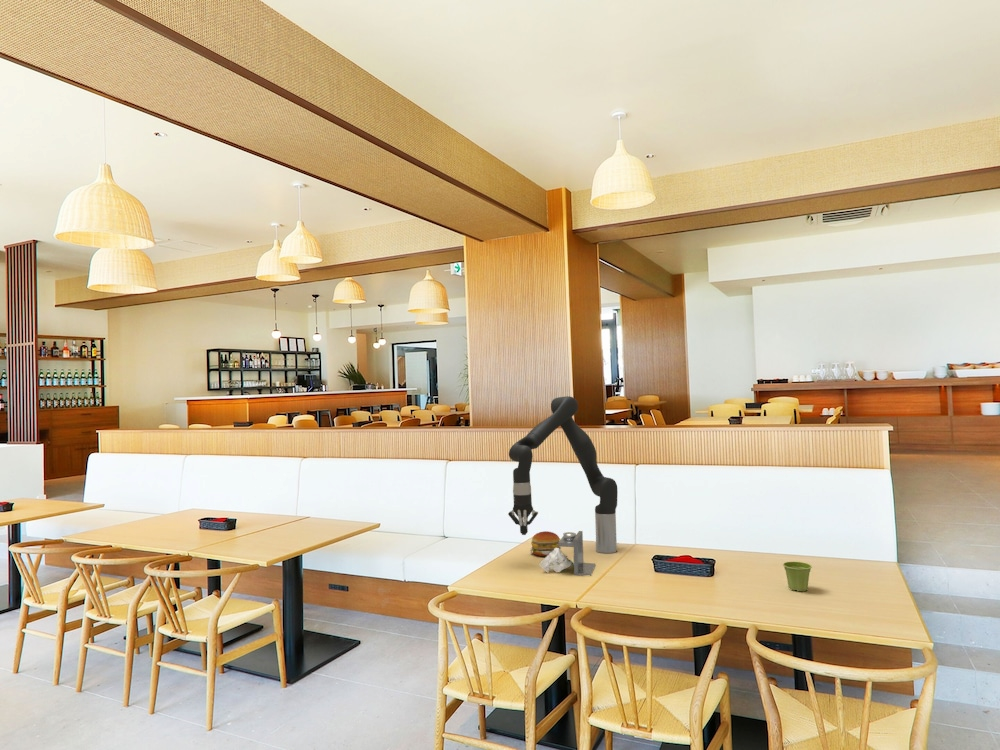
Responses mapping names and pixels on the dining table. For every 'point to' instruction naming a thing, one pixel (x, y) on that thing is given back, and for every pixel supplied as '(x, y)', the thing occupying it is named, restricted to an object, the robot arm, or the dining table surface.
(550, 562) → the white irregular lump
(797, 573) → the plant pot
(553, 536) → the burger
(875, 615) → the dining table surface
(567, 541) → the bracket
